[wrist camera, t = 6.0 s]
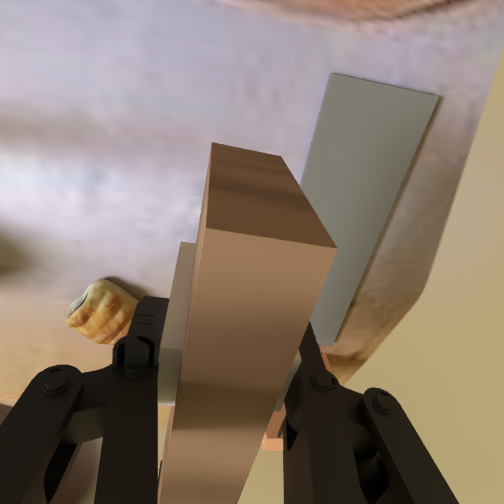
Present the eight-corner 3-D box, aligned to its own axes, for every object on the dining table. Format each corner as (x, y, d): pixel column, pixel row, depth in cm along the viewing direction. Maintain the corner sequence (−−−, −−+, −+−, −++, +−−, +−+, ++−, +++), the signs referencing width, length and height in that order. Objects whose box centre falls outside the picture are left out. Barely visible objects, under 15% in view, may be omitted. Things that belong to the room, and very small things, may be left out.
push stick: (209, 141, 14) (200, 227, 7) (283, 156, 14) (341, 249, 8) (161, 455, 25) (139, 606, 18) (204, 456, 26) (199, 604, 19)
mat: (330, 72, 26) (332, 73, 25) (435, 95, 27) (439, 96, 27) (259, 336, 40) (259, 340, 39) (330, 342, 41) (332, 345, 41)
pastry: (175, 315, 37) (171, 341, 34) (140, 348, 39) (132, 375, 36) (100, 269, 33) (86, 293, 30) (64, 308, 35) (49, 335, 32)
